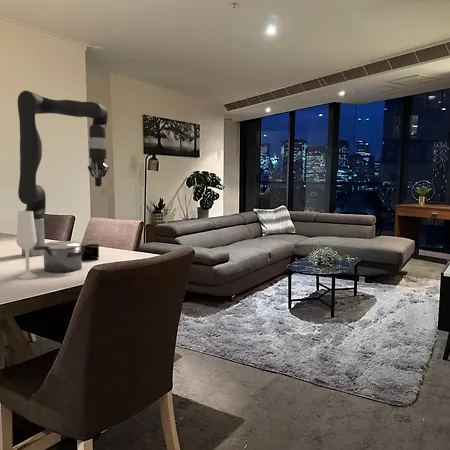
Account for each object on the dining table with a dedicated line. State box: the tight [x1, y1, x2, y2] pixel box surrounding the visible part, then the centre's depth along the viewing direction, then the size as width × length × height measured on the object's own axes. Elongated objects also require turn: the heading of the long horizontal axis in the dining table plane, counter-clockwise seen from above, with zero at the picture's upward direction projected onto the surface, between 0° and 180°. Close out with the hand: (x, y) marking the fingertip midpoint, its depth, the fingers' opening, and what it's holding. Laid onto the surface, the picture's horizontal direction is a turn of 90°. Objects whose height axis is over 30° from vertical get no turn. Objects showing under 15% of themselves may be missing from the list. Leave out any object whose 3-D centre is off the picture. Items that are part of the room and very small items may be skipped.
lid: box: [34, 240, 85, 250], centre depth 159 cm, size 19×14×1 cm
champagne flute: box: [15, 210, 39, 280], centre depth 146 cm, size 7×7×24 cm
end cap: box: [81, 243, 100, 262], centre depth 182 cm, size 10×7×7 cm
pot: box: [43, 244, 86, 274], centre depth 161 cm, size 16×20×9 cm
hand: (98, 186), depth 185 cm, fingers closed
